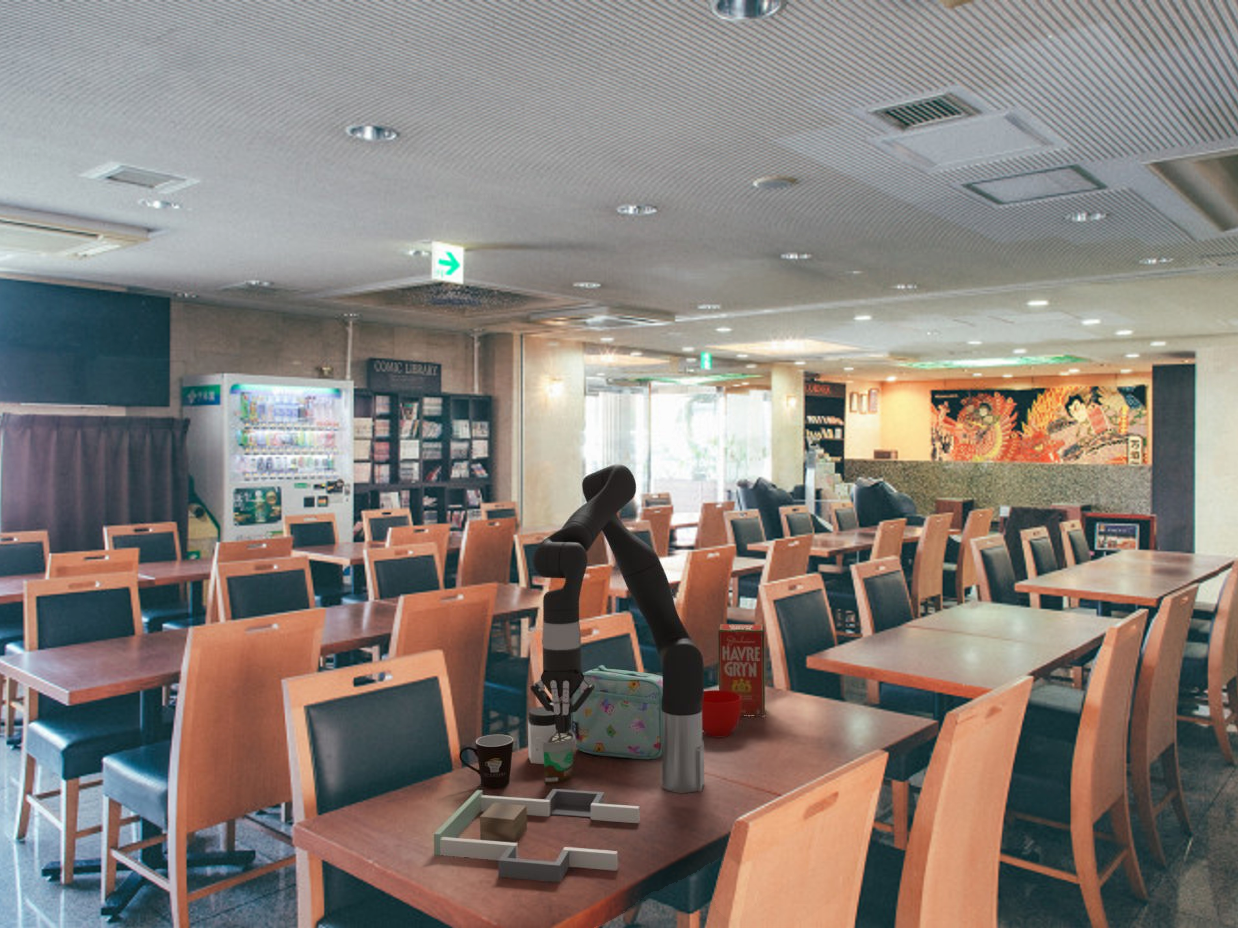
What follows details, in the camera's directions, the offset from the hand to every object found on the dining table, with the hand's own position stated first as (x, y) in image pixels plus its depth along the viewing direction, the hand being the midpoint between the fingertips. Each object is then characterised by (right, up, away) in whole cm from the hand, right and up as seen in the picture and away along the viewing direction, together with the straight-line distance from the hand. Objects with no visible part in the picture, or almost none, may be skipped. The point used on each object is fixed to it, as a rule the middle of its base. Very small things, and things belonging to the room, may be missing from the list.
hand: (563, 732), depth 174 cm
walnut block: (-12, -21, +2) cm, 24 cm away
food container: (-2, -21, +33) cm, 39 cm away
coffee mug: (-19, -21, +31) cm, 42 cm away
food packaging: (+47, -20, +85) cm, 99 cm away
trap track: (-5, -21, +1) cm, 22 cm away
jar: (-7, -21, +47) cm, 52 cm away
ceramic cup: (+36, -20, +66) cm, 78 cm away
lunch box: (+11, -21, +51) cm, 56 cm away
